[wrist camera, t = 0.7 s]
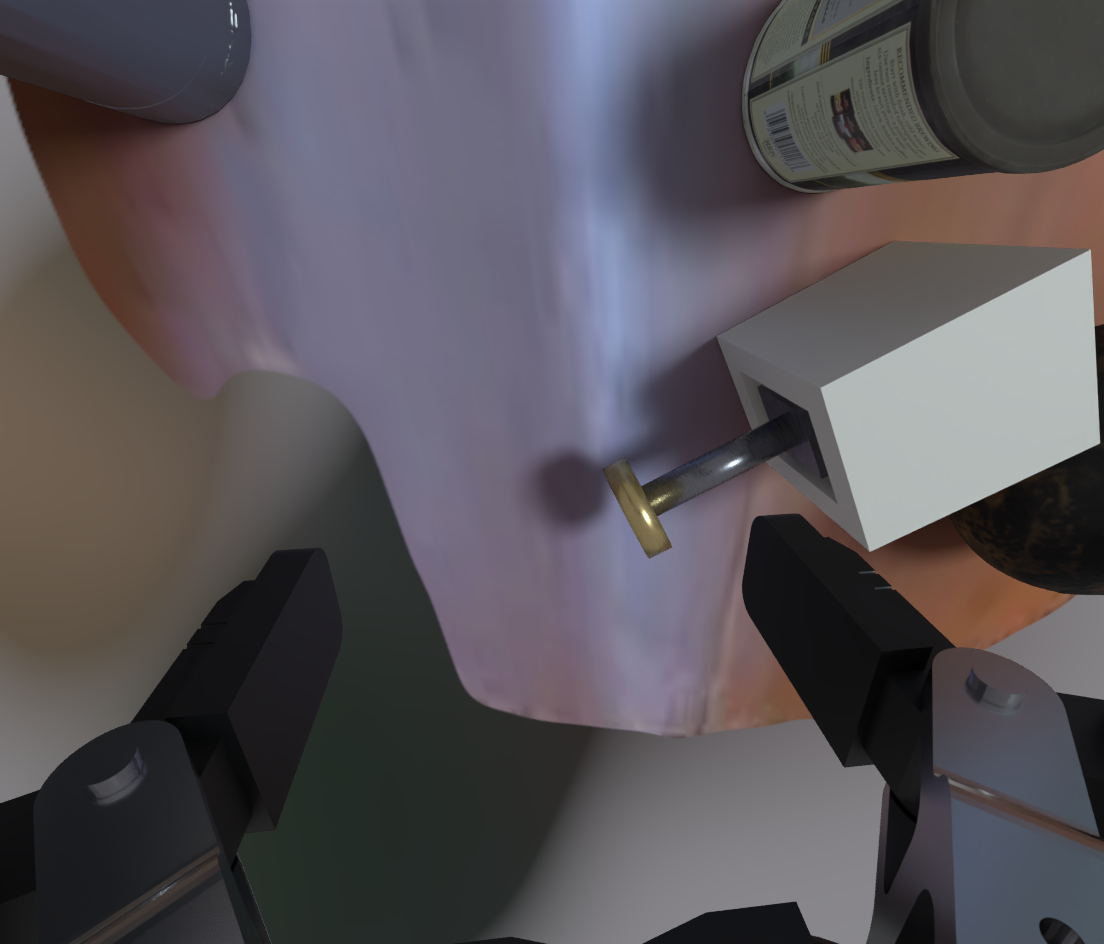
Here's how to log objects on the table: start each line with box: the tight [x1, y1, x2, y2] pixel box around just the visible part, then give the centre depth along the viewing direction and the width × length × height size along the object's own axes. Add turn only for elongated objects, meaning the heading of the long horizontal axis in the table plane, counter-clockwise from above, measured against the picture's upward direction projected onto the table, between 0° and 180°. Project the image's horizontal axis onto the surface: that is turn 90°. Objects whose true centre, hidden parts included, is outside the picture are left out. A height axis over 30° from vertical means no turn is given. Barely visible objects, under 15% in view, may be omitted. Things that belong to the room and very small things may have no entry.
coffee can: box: [742, 0, 1104, 193], centre depth 23 cm, size 10×10×14 cm
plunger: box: [602, 384, 829, 559], centre depth 32 cm, size 12×6×6 cm, turn 118°
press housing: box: [716, 241, 1100, 552], centre depth 31 cm, size 12×10×12 cm
